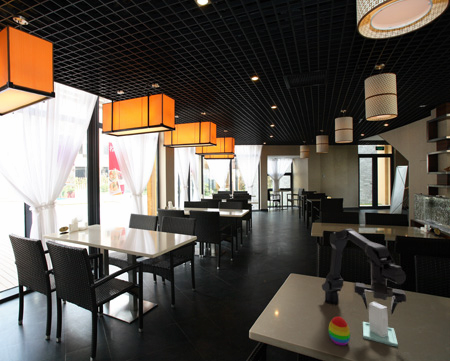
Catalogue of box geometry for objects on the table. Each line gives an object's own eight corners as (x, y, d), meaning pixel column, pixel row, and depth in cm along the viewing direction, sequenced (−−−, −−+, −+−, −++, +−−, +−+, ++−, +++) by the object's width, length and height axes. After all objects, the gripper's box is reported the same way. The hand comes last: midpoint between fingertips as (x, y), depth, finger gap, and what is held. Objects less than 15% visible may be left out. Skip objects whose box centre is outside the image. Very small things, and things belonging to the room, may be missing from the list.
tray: (363, 338, 105) (363, 335, 105) (362, 324, 116) (362, 321, 116) (397, 347, 100) (397, 344, 100) (393, 331, 110) (393, 328, 110)
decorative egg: (324, 340, 104) (324, 316, 104) (334, 333, 109) (334, 310, 109) (344, 350, 98) (343, 325, 98) (353, 342, 103) (353, 318, 103)
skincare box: (388, 335, 106) (388, 307, 106) (382, 338, 104) (382, 309, 104) (374, 328, 112) (374, 300, 112) (368, 330, 110) (368, 303, 110)
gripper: (354, 277, 105) (354, 314, 105) (408, 286, 97) (408, 326, 96) (354, 269, 115) (354, 303, 115) (403, 276, 106) (404, 313, 106)
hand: (378, 311), depth 108 cm, fingers open, 9 cm apart
